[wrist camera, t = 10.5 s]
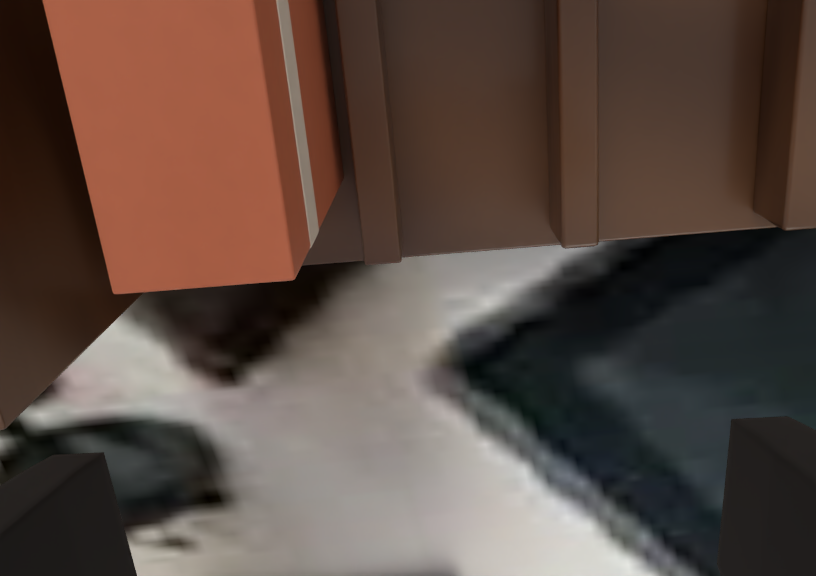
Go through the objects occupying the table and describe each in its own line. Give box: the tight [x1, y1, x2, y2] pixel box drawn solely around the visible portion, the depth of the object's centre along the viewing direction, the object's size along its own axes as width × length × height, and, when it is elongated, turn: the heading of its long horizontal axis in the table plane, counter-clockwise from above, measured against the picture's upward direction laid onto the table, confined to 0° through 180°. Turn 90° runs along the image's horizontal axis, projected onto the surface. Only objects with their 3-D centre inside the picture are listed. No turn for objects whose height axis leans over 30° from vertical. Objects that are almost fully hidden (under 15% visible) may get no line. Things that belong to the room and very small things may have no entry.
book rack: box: [0, 0, 816, 430], centre depth 13 cm, size 10×17×8 cm, turn 95°
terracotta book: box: [43, 0, 344, 294], centre depth 13 cm, size 6×3×7 cm, turn 5°
